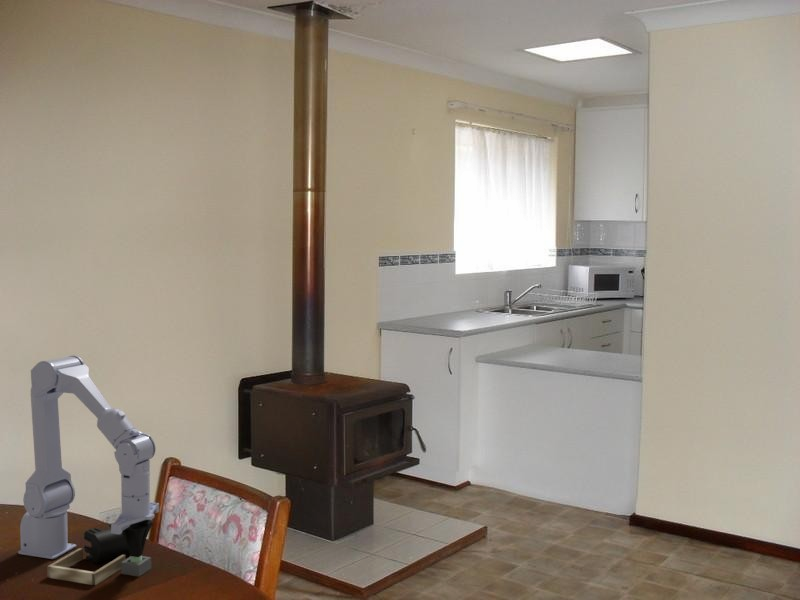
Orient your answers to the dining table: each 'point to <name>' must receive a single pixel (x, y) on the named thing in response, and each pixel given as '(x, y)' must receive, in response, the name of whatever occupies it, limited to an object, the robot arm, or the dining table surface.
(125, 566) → the button housing
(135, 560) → the button
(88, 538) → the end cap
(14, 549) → the dining table surface
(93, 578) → the cream square frame
